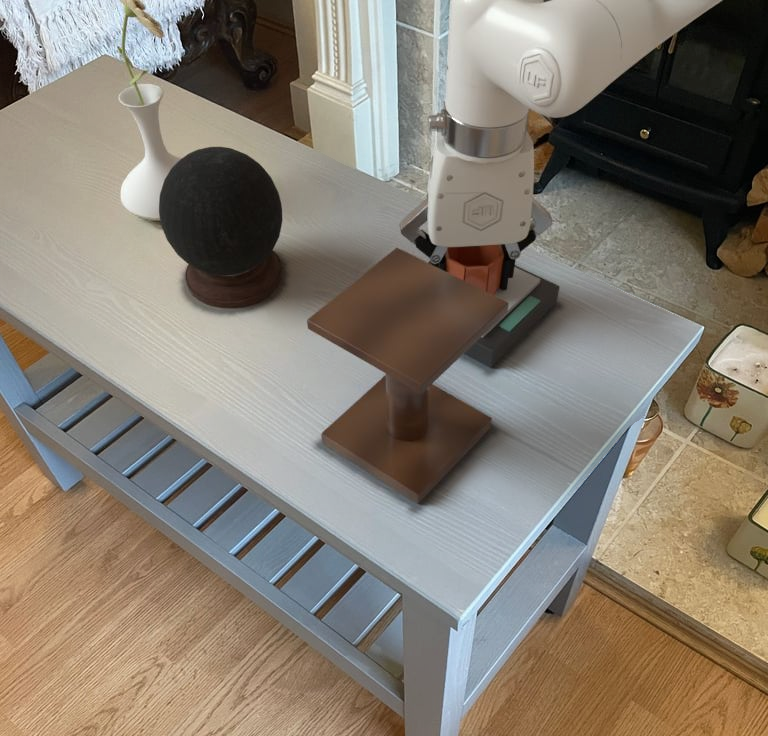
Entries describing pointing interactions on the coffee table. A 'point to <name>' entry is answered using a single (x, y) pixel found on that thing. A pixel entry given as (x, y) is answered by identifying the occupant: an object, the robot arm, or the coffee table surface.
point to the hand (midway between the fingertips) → (470, 282)
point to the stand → (407, 369)
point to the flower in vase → (144, 129)
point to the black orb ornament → (223, 226)
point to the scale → (515, 315)
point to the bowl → (476, 265)
